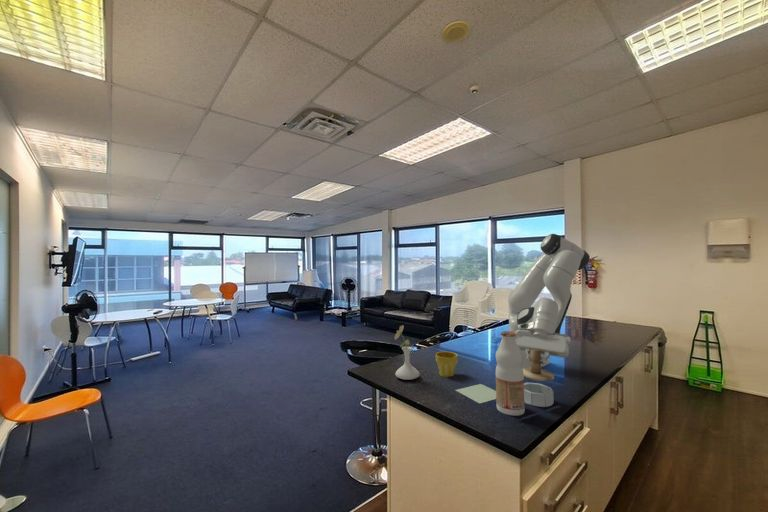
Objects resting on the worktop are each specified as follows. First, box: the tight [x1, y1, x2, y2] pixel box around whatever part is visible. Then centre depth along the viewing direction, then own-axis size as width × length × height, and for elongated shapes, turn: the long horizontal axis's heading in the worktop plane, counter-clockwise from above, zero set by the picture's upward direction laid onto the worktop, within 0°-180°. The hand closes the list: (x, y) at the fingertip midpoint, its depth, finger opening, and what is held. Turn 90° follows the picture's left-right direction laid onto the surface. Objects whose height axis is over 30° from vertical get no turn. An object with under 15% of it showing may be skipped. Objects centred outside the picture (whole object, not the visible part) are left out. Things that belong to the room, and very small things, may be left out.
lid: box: [522, 349, 555, 382], centre depth 116 cm, size 12×12×9 cm
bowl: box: [524, 382, 555, 408], centre depth 116 cm, size 11×11×5 cm
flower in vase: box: [393, 324, 421, 381], centre depth 143 cm, size 13×11×25 cm
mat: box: [455, 383, 496, 405], centre depth 123 cm, size 14×14×1 cm
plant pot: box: [435, 351, 459, 378], centre depth 146 cm, size 10×10×10 cm
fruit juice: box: [495, 330, 526, 417], centre depth 110 cm, size 9×9×28 cm
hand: (535, 361), depth 116 cm, fingers closed on lid, 3 cm apart
